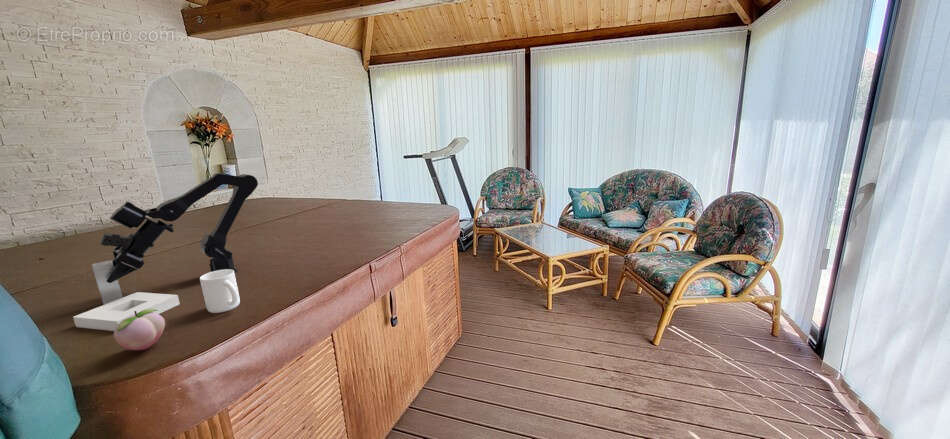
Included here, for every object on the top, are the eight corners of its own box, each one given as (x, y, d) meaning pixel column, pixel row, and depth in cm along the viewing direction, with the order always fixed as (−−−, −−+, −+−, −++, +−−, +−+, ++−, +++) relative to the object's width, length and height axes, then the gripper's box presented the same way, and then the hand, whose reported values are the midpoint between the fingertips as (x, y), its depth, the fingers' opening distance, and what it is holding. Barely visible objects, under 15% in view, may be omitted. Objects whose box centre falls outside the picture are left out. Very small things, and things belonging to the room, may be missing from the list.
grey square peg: (122, 298, 118) (112, 260, 115) (123, 302, 115) (112, 263, 112) (103, 303, 115) (92, 263, 112) (104, 307, 112) (92, 267, 109)
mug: (253, 306, 108) (246, 273, 106) (223, 319, 102) (215, 284, 99) (231, 298, 114) (224, 267, 112) (201, 310, 108) (193, 277, 105)
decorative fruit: (142, 339, 92) (132, 303, 90) (176, 337, 93) (167, 301, 90) (108, 362, 83) (96, 322, 81) (146, 359, 84) (134, 319, 81)
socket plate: (139, 300, 116) (137, 292, 115) (179, 304, 112) (177, 295, 111) (76, 326, 101) (72, 316, 100) (120, 331, 97) (117, 321, 96)
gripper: (115, 218, 120) (76, 259, 115) (119, 227, 107) (74, 273, 102) (152, 236, 127) (117, 276, 122) (160, 246, 114) (120, 290, 109)
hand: (107, 278), depth 114 cm, fingers open, 9 cm apart
